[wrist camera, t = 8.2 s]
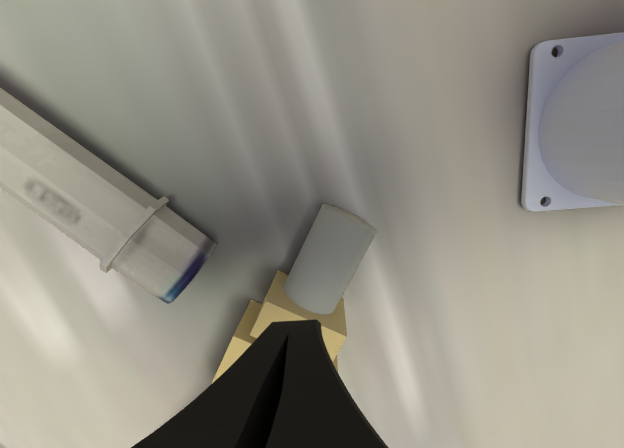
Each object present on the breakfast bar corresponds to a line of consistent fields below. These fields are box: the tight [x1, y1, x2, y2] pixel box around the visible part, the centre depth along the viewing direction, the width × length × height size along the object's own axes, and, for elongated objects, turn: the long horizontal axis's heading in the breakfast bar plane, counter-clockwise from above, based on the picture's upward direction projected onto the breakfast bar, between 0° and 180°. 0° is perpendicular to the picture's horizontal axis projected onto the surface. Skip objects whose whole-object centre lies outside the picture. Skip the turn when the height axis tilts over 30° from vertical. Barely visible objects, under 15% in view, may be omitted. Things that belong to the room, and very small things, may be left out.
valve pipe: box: [212, 204, 376, 383], centre depth 19 cm, size 20×6×4 cm, turn 155°
